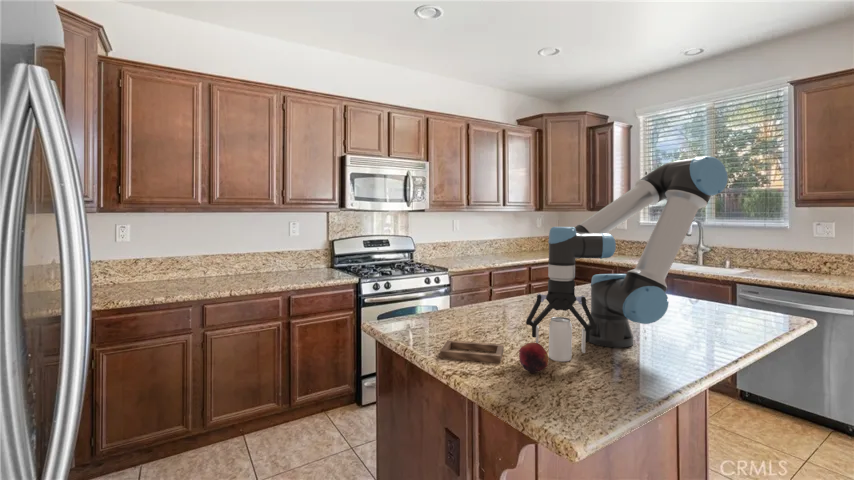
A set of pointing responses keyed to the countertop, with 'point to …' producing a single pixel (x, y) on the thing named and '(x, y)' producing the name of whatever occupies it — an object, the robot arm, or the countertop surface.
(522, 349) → the fruit
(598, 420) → the countertop surface
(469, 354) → the socket
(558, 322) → the can
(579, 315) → the robot arm
